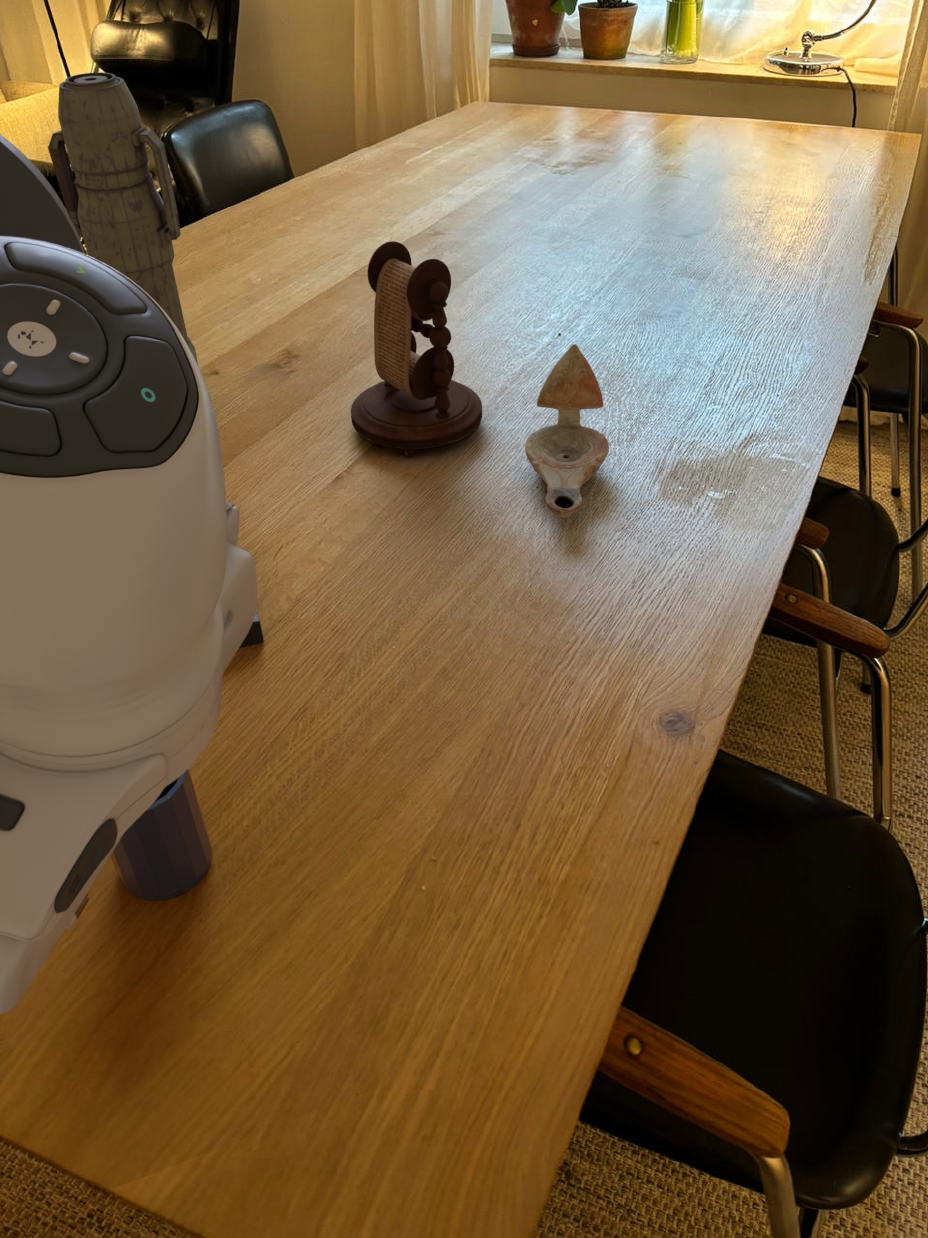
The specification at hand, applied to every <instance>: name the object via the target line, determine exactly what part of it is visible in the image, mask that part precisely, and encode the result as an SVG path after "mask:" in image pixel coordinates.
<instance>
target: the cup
mask: <svg viewBox="0 0 928 1238" xmlns="http://www.w3.org/2000/svg"><path fill="white" fill-rule="evenodd" d="M208 832H209V831H208V830H207V826H206V823H205V819H204V816H203V812H202V810H201V806H200V803H199V800H198V796H197V792H196V790H195V786H194V783H193V779H192V776H191V773H190V768H189V769H188V770H186V771H185V772H184V773H183V774H182V775H181V776H180V777H178V778H177V779H176V780H175V781H173V782H172V783H171V784H169V785H167V786H166V787H165V788H164V790H163V791H162V793H161V794H160V795H159V797H158V798H157V799H156V800H155V801H154V803H153V804H152V805H151V806H150V807H149V808H148V809H147V810H146V811H145V812H144V813H143V814H142V815H141V816H140V817H139V818H138V819H137V820H136V821H135V822H134V823H133V824H132V825H131V826H130V827H129V828H128V829H127V830H126V831H125V833H124V834H123V836H122V838H121V839H120V841H119V843H118V844H117V846H116V847H115V849H114V851H113V852H112V854H111V855H110V858H111V859H110V860H111V861H112V863H113V865H114V868H115V871H116V873H117V876H118V878H119V880H121V883H122V885H123V887H124V888H125V889H126V890H127V892H129V893H130V894H131V895H133V896H135V897H137V898H140V899H142V900H147V901H164V900H169V899H173V898H175V897H178V896H181V895H183V894H185V893H186V892H188V891H189V890H192V889H193V888H194V887H195V886H196V885H198V884H199V883H200V882H201V880H202V879H203V878H204V877H205V875H206V874H207V872H208V870H209V869H210V866H211V863H212V860H213V849H212V844H211V841H210V836H209V833H208Z"/></svg>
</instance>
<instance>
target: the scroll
mask: <svg viewBox="0 0 928 1238" xmlns="http://www.w3.org/2000/svg"><path fill="white" fill-rule="evenodd" d="M412 263H413V262H412V257H411V253H410V251H409V250H408V248H407V246H405V245H404V244H403V243H401V242H399V241H395V240H391V241H387V242H384V243H383V244H381V245H379V247H377V248H376V249H375V251H374V252H373V253H372V255H371V257H370V259H369V263H368V265H367V281H368V284H369V286H370V289H371V290H372V291H373V292H374V293H375V296H374V297H375V298H374V310H373V311H374V312H373V313H374V314H373V341H374V342H373V343H374V345H373V349H374V366H375V370H376V373H377V376H378V377H379V378H380V379H381V380H382V381H381V382H378V383H376V384H374V385H372V386H370V387H368V388H367V389H365V390H363V391H362V392H361V393H359V394H358V395H357V396H356V397H355V398H354V400H353V402H352V403H351V406H350V418H351V424H352V427H353V429H354V430H355V431H356V432H357V433H358V434H359V435H360V436H361V437H363V438H364V439H365V440H367V441H370V442H372V443H373V444H377V445H380V446H385V447H389V448H393V449H403V450H404V453H405V455H406V457H407V458H409V459H411V458H413V457H414V454H415V451H416V450H421V449H431V448H432V449H433V448H437V447H441V446H446V445H450V444H452V443H455V442H458V441H460V440H462V439H464V438H466V437H467V436H469V435H470V434H472V433H473V432H474V431H475V430H477V429H479V427H480V425H481V421H482V419H483V403H482V399H481V398H480V396H479V394H477V393H476V391H475V390H474V389H472V388H470V387H469V386H467V385H465V384H463V383H461V382H458V381H456V380H453V376H454V372H455V359H454V357H453V354H452V353H451V351H450V350H449V347H448V346H449V345H450V344H451V341H452V333H451V330H450V329H449V328H448V327H447V326H446V325H447V324H448V318H447V314H446V312H445V308H446V307H447V306H448V303H447V300H448V298H449V296H450V293H451V288H452V276H451V272H450V269H449V267H448V265H447V264H446V263H445V262H444V261H442V260H441V259H438V258H429V259H425V260H424V261H422V262H420V263H419V264H418V265H417V266H416V267H415V266H413V265H412ZM427 321H431V322H432V324H430V323H427ZM425 322H426V323H425ZM413 332H414V333H420V334H421V336H422V337H423V338H425V339H429V342H430V344H431V346H433V347H430V348H428V349H427V350H425V351H424V352H423V353H422V354H421V355H420V354H418V353H417V349H418V347H417V346H418V345H417V338H416V336H415V334H414V333H413Z"/></svg>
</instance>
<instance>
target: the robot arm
mask: <svg viewBox="0 0 928 1238" xmlns="http://www.w3.org/2000/svg"><path fill="white" fill-rule="evenodd" d="M63 203H64V202H62V200H61V198H60V197H59V195H58V193H57V192H56V190H55V189H54V188H53V186H52V185H51V183H50V182H49V181H48V180H47V178H46V177H45V175H44V174H43V173H42V172H41V170H40V169H39V168H38V167H37V166H36V165H35V164H34V163H33V162H32V160H30V158H28V157H27V156H26V154H24V153H23V152H22V151H21V150H20V149H19V148H18V147H16V146H15V144H13V143H12V142H11V141H9V140H8V139H7V138H6V137H5V136H4V135H2V134H1V133H0V1015H4V1014H7V1013H9V1012H10V1011H12V1010H13V1009H14V1007H16V1006H17V1005H18V1004H19V1002H20V1001H22V999H23V998H24V997H25V995H26V994H27V992H28V991H29V989H30V987H31V986H32V985H33V982H34V980H35V978H36V977H37V975H38V974H39V972H40V970H41V969H42V967H43V965H44V964H45V962H46V961H47V959H48V958H49V956H50V954H51V952H52V951H53V950H54V947H55V946H56V944H57V943H58V941H59V940H60V938H61V937H62V935H63V933H64V932H65V930H69V931H71V930H72V929H73V927H74V926H75V924H76V923H77V921H78V920H79V918H80V917H81V915H82V913H83V912H84V909H85V908H86V906H87V905H88V903H89V901H90V897H89V894H88V892H90V889H91V888H92V886H93V885H94V883H95V881H96V880H97V878H98V877H99V875H100V873H101V872H102V870H103V868H104V867H105V865H106V864H107V862H108V860H109V859H110V858H111V856H110V855H111V854H112V852H113V851H114V849H115V847H116V846H117V844H118V843H119V841H120V839H121V838H122V836H123V834H124V833H125V831H126V830H127V829H128V828H129V827H130V826H131V825H132V824H133V823H134V822H135V821H136V820H137V819H138V818H139V817H140V816H141V815H142V814H143V813H144V812H145V811H146V810H147V809H148V808H149V807H150V806H151V805H152V804H153V803H154V801H155V800H156V799H157V798H158V797H159V795H160V794H161V793H162V791H163V790H164V788H165V787H166V786H167V785H169V784H171V783H172V782H173V781H175V780H176V779H177V778H178V777H180V776H181V775H182V774H183V773H184V772H185V771H186V770H188V769H189V770H190V768H191V767H192V766H193V764H195V763H196V762H197V760H198V759H199V758H200V756H201V755H202V754H203V752H204V751H205V749H206V748H207V746H208V745H209V743H210V741H211V739H212V737H213V735H214V733H215V730H216V728H217V725H218V721H219V718H220V714H221V709H222V699H223V698H222V696H223V674H224V673H225V671H226V669H227V668H228V666H229V665H230V664H231V661H232V660H233V659H234V657H235V655H236V653H237V652H238V650H239V649H240V648H239V647H240V645H241V644H242V642H243V641H244V639H245V637H246V636H247V634H248V632H249V630H250V628H251V625H252V623H253V620H254V617H255V614H256V611H257V610H258V576H257V569H256V568H257V567H256V563H255V559H254V557H253V556H252V554H251V553H250V552H249V551H248V550H245V549H243V548H241V547H239V546H237V544H238V543H237V542H238V539H239V533H240V517H241V516H240V509H239V507H237V506H235V505H234V504H233V502H231V501H230V500H227V496H226V482H225V472H224V462H223V461H224V460H223V451H222V445H221V440H220V433H219V426H218V421H217V416H216V411H215V407H214V404H213V401H212V397H211V394H210V392H209V388H208V386H207V383H206V381H205V378H204V375H203V373H202V370H201V368H200V366H199V363H198V364H197V362H196V360H195V358H194V356H193V355H192V353H191V351H190V349H189V347H188V346H187V344H186V342H185V340H184V338H183V336H182V335H181V333H180V332H179V330H178V329H177V327H176V325H175V324H174V323H173V321H172V320H171V319H170V317H169V316H168V315H167V314H166V312H165V311H164V310H163V309H162V308H161V307H160V306H159V304H158V303H157V302H156V301H155V300H154V299H153V298H152V297H151V296H150V295H149V294H148V293H147V292H146V291H144V290H143V289H142V288H141V287H140V286H138V285H137V284H136V283H135V282H133V281H132V280H131V279H129V278H128V277H126V276H125V275H123V274H122V273H120V272H119V271H117V270H116V269H114V268H112V267H110V266H109V265H107V264H105V263H103V262H101V261H99V260H97V259H95V258H93V257H91V256H89V255H88V254H86V253H85V250H84V247H83V244H82V242H81V238H80V236H79V235H78V234H77V231H76V229H75V227H74V225H73V223H72V220H71V218H70V216H69V214H68V212H67V209H66V206H65V204H63Z"/></svg>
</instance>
